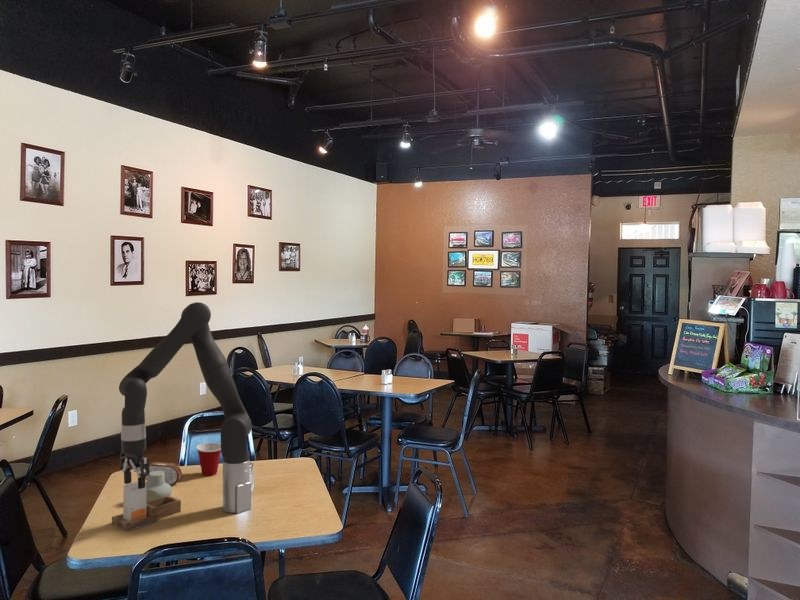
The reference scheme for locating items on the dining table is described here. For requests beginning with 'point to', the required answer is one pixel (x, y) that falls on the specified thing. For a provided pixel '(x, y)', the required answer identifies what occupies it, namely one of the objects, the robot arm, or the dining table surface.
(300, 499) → the dining table surface
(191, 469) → the dining table surface
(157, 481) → the air freshener
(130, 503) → the skincare box
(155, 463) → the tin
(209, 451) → the plastic cup
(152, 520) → the caddy
